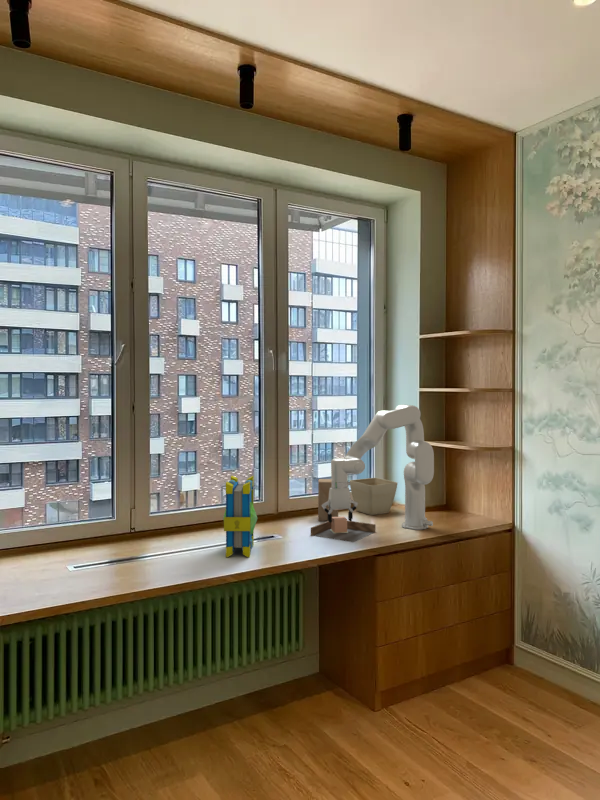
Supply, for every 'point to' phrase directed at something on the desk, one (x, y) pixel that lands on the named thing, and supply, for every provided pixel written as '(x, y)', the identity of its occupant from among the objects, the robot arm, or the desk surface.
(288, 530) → the desk surface
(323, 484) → the wooden block
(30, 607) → the desk surface
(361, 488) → the flower pot
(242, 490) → the decorative book
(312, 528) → the tray
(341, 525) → the cube
